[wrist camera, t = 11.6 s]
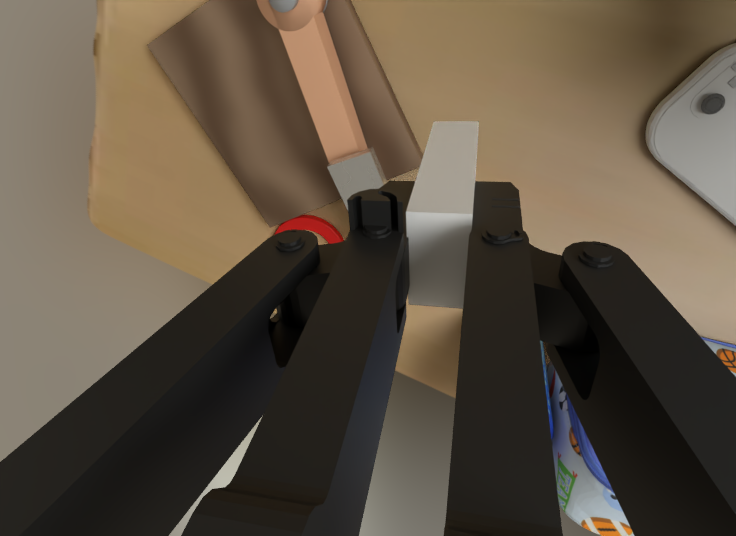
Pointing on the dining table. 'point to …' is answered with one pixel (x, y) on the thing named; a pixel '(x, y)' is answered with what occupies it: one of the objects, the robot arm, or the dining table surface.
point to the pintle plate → (278, 102)
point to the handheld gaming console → (701, 131)
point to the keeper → (357, 173)
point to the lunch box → (592, 460)
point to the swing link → (317, 73)
